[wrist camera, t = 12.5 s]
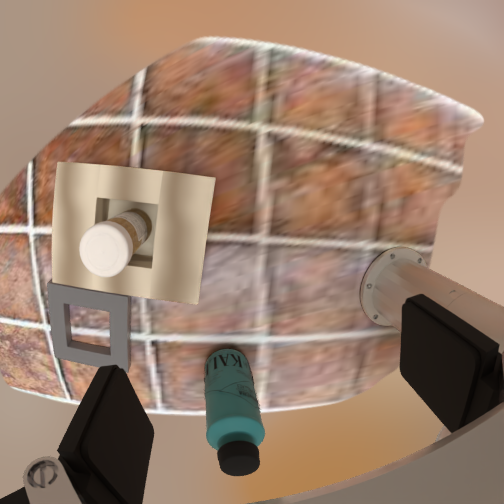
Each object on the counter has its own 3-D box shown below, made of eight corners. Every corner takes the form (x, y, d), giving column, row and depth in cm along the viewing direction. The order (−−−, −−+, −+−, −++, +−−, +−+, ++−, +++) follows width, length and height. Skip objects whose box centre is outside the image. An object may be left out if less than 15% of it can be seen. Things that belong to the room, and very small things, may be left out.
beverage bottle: (235, 383, 45) (255, 488, 26) (195, 368, 43) (195, 477, 24) (256, 350, 44) (288, 455, 25) (214, 334, 42) (224, 442, 23)
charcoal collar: (131, 291, 39) (127, 297, 37) (130, 365, 42) (128, 372, 40) (53, 278, 37) (47, 283, 35) (59, 350, 40) (54, 357, 38)
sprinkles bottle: (128, 250, 37) (94, 287, 24) (111, 217, 35) (68, 239, 23) (159, 233, 37) (138, 264, 24) (142, 200, 36) (112, 214, 23)
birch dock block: (214, 177, 37) (215, 177, 31) (199, 286, 40) (198, 304, 34) (77, 162, 34) (57, 161, 28) (70, 267, 37) (52, 282, 31)
